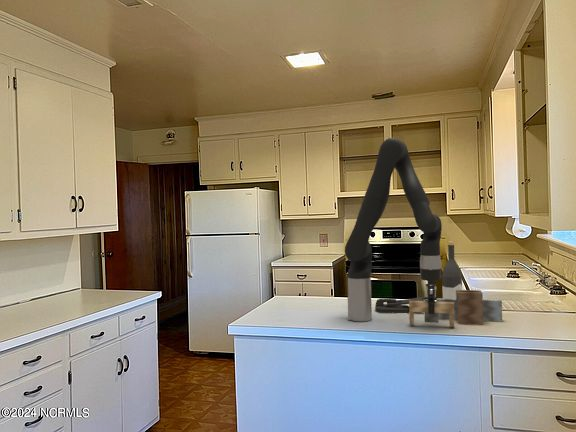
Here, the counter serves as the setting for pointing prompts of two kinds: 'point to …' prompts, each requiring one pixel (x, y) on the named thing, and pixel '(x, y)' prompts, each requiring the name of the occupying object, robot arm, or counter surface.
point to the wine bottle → (451, 275)
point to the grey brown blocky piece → (473, 308)
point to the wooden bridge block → (433, 318)
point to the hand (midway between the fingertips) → (431, 312)
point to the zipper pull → (395, 305)
